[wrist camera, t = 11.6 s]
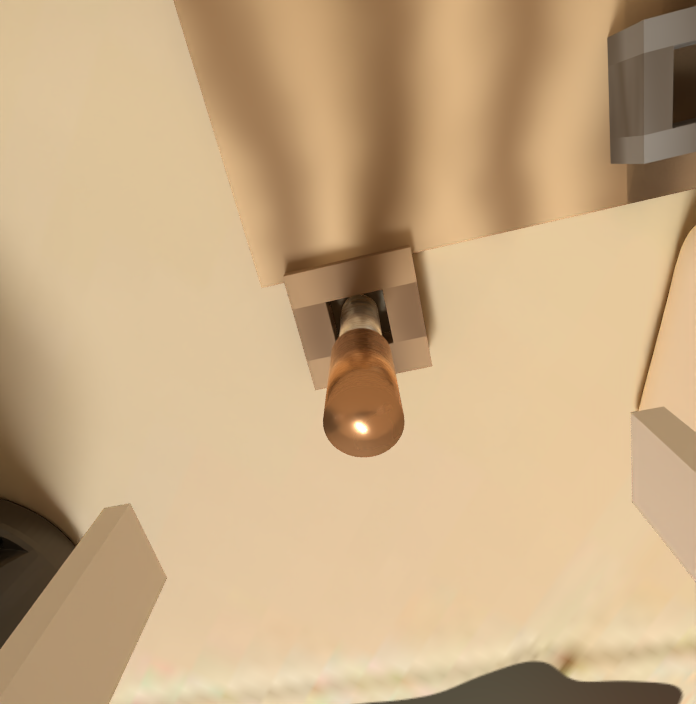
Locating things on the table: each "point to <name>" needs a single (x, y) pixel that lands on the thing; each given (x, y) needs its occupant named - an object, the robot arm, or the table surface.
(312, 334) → the tool rest
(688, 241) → the cable organizer
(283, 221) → the plywood panel
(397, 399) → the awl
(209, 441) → the table surface
